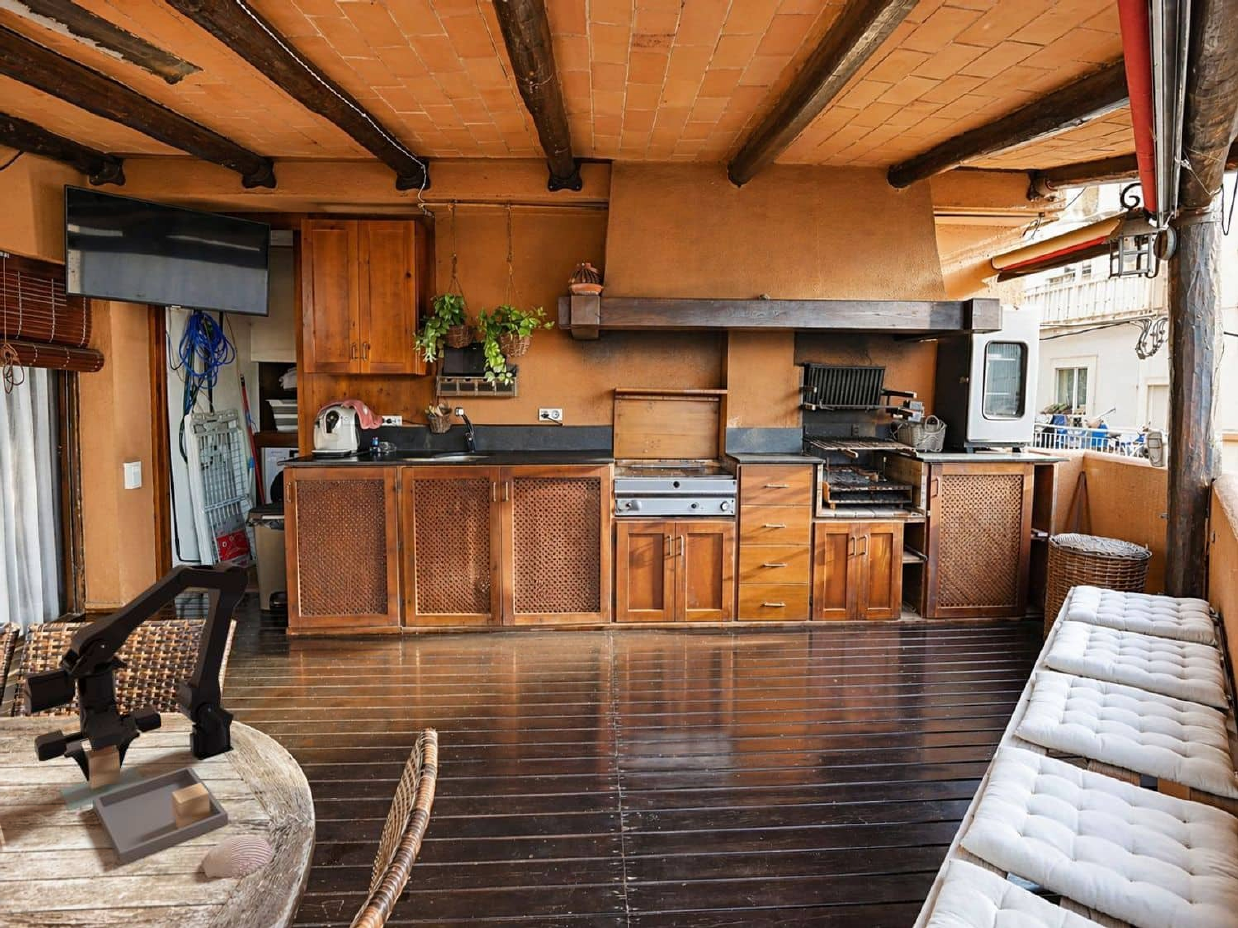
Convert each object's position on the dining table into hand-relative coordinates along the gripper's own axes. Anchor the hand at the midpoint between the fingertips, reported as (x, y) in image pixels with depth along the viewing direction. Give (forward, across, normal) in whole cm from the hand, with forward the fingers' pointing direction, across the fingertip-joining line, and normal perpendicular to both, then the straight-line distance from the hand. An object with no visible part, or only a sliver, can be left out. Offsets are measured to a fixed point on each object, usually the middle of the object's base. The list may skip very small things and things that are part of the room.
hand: (103, 775), depth 138 cm
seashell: (+3, +11, -39) cm, 40 cm away
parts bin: (+3, +5, -18) cm, 18 cm away
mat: (+3, 0, 0) cm, 3 cm away
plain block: (+2, +8, -24) cm, 25 cm away
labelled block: (+1, 0, 0) cm, 1 cm away
